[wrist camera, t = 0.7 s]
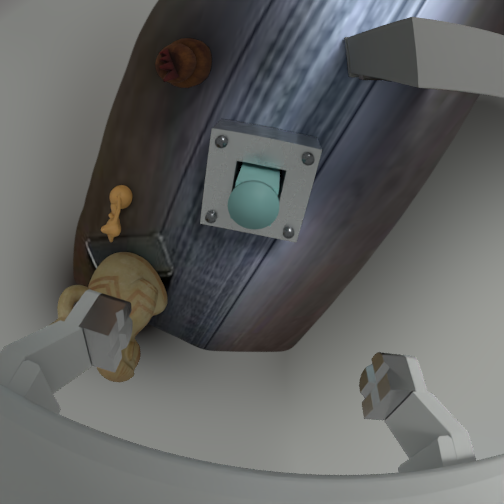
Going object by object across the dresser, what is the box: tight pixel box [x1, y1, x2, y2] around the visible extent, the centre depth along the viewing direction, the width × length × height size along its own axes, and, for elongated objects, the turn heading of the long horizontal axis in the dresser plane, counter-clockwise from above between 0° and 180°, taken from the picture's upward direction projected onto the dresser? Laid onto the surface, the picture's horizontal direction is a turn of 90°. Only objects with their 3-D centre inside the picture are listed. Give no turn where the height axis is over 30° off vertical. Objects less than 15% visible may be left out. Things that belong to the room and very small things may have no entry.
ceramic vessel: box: [50, 252, 167, 382], centre depth 51 cm, size 17×20×25 cm
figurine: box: [101, 185, 133, 242], centre depth 47 cm, size 8×6×12 cm
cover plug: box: [228, 162, 280, 230], centre depth 42 cm, size 6×6×13 cm
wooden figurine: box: [155, 38, 212, 88], centre depth 33 cm, size 7×6×15 cm
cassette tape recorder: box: [344, 17, 504, 98], centre depth 25 cm, size 14×6×25 cm, turn 98°
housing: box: [200, 119, 322, 242], centre depth 45 cm, size 14×14×8 cm
